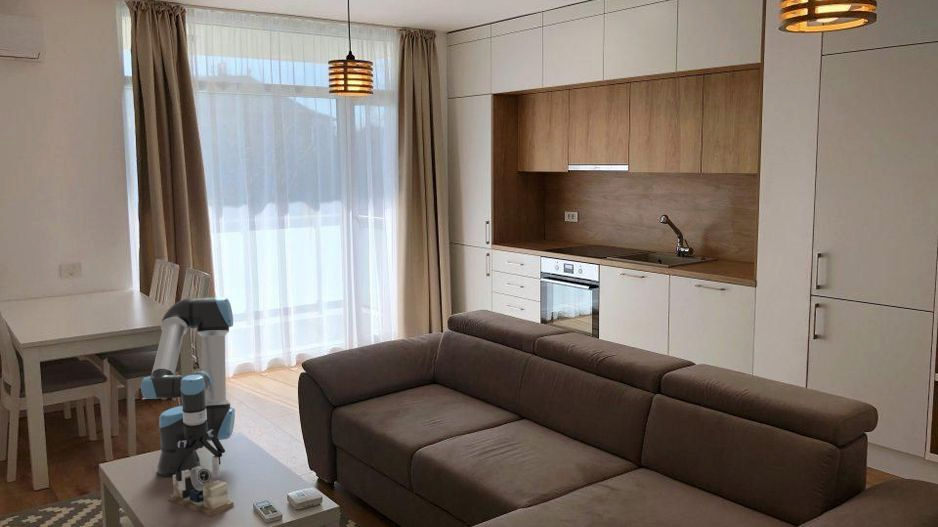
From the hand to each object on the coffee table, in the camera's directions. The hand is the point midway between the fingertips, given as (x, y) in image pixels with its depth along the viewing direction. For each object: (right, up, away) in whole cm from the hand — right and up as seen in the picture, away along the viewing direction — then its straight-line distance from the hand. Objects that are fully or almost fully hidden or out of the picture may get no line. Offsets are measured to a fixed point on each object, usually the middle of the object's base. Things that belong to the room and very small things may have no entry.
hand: (199, 481), depth 264 cm
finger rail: (0, -7, +1) cm, 7 cm away
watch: (0, -6, +1) cm, 6 cm away
